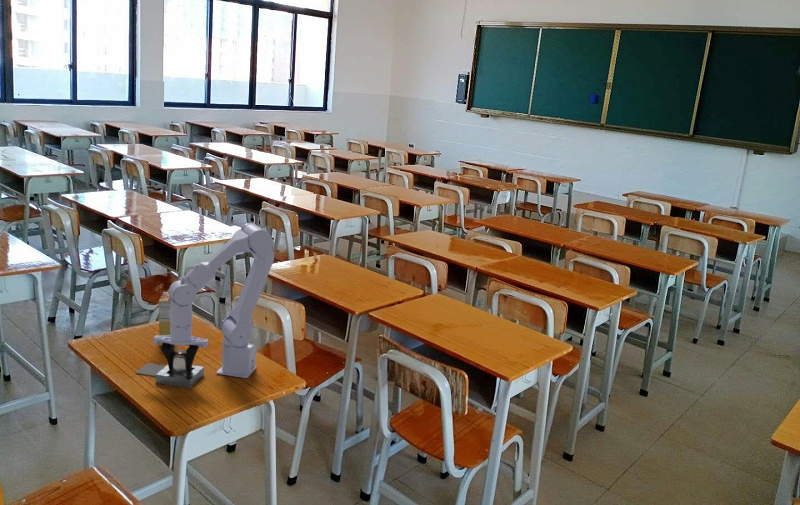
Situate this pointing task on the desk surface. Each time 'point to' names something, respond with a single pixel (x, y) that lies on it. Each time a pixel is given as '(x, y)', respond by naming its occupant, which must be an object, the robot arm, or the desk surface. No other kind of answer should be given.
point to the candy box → (164, 314)
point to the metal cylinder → (179, 363)
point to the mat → (150, 369)
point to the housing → (180, 377)
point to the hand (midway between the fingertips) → (180, 368)
